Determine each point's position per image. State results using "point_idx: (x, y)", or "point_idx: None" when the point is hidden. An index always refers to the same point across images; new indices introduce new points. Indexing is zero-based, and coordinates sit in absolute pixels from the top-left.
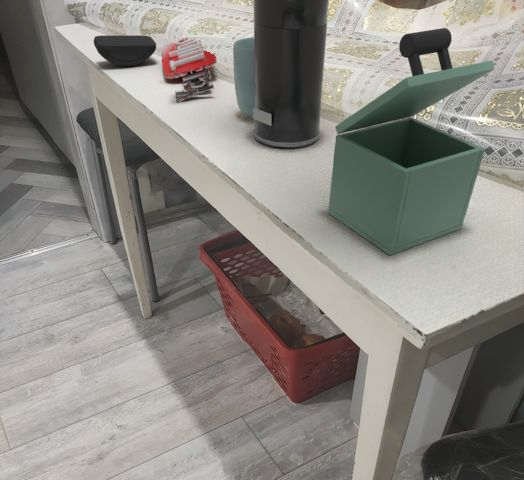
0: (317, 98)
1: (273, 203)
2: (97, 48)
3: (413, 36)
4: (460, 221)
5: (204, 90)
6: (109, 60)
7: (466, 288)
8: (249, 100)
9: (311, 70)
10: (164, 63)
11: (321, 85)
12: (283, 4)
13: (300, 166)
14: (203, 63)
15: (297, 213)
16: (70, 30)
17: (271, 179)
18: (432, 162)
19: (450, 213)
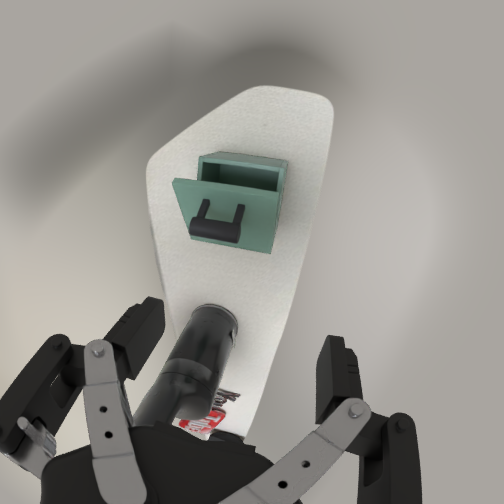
0: (195, 324)
1: (296, 261)
2: None
3: (235, 232)
4: (220, 152)
5: (219, 392)
6: (240, 439)
7: (278, 106)
8: None
9: (197, 338)
10: (216, 423)
11: (187, 329)
12: (206, 383)
13: (239, 287)
14: None
15: (293, 241)
16: None
17: (271, 286)
18: (253, 166)
19: (231, 154)
